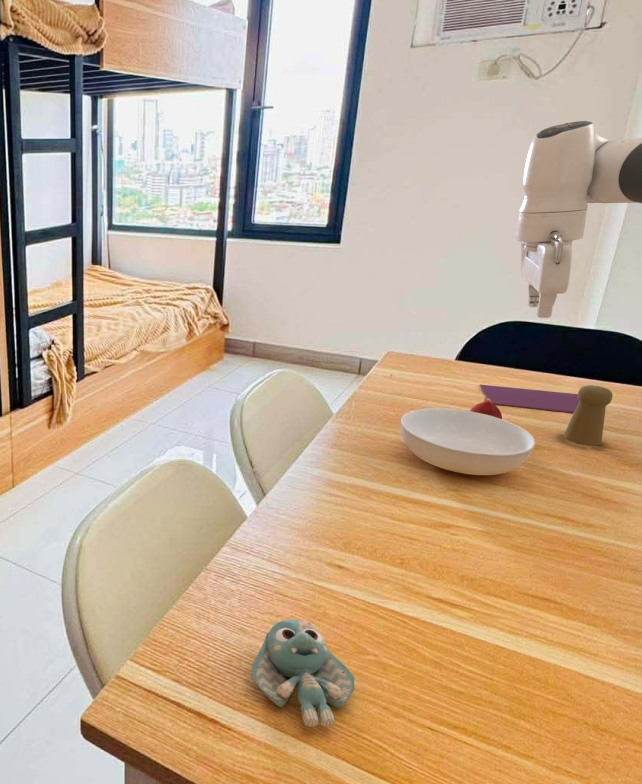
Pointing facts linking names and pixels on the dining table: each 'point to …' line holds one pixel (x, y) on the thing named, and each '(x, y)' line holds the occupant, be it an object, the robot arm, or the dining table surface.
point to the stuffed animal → (302, 671)
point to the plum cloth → (531, 398)
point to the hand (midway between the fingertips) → (538, 311)
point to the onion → (487, 409)
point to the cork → (589, 416)
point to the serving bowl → (466, 441)
